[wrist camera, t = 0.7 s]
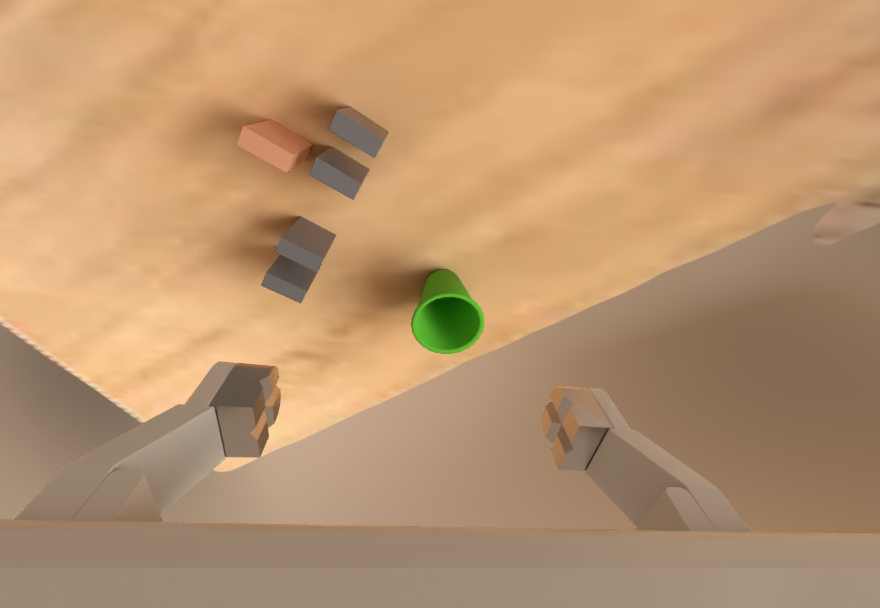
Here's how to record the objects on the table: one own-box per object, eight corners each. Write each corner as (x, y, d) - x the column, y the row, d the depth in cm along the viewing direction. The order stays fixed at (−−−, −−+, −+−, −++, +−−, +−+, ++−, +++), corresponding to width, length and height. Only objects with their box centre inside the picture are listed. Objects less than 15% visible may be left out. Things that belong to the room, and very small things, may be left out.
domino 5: (332, 146, 44) (316, 157, 37) (369, 169, 45) (361, 183, 38) (325, 161, 44) (308, 174, 38) (362, 183, 46) (353, 199, 39)
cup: (453, 318, 57) (461, 363, 48) (401, 295, 55) (398, 339, 45) (484, 272, 53) (498, 311, 44) (429, 245, 51) (433, 281, 41)
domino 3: (286, 247, 50) (266, 272, 43) (321, 264, 51) (307, 291, 44) (281, 258, 50) (260, 285, 44) (316, 275, 52) (300, 303, 45)
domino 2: (300, 216, 48) (281, 237, 41) (336, 235, 49) (323, 258, 42) (295, 228, 48) (275, 252, 42) (330, 246, 50) (316, 272, 43)
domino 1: (271, 119, 42) (243, 125, 35) (312, 144, 43) (293, 155, 36) (265, 136, 43) (236, 145, 36) (306, 159, 44) (286, 172, 37)
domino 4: (349, 106, 42) (337, 110, 35) (388, 131, 43) (383, 140, 36) (342, 122, 42) (328, 129, 36) (380, 147, 44) (374, 158, 37)
